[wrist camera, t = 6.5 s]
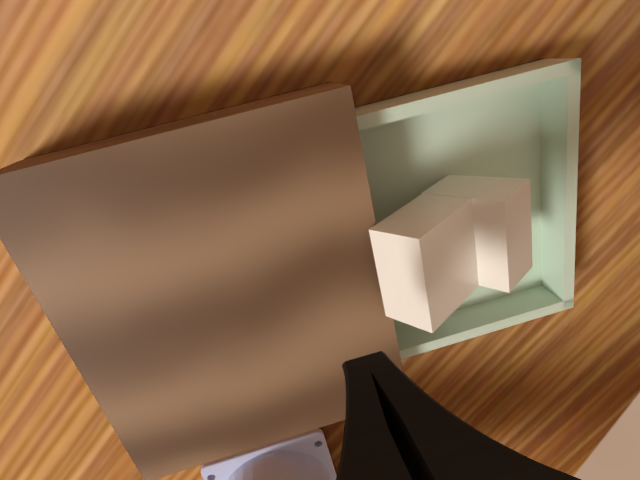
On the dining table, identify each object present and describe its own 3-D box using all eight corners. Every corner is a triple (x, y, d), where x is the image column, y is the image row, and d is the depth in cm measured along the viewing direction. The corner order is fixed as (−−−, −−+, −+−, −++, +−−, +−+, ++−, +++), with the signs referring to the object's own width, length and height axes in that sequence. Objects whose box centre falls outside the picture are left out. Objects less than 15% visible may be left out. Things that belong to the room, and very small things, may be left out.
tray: (544, 285, 26) (573, 307, 24) (384, 333, 25) (398, 360, 23) (543, 58, 20) (581, 57, 18) (340, 111, 20) (352, 117, 17)
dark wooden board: (384, 352, 26) (408, 399, 22) (159, 421, 25) (145, 481, 21) (330, 82, 19) (350, 85, 16) (22, 160, 18) (-33, 182, 15)
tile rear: (432, 273, 22) (457, 251, 23) (509, 292, 19) (532, 266, 20) (420, 193, 20) (448, 174, 21) (504, 200, 17) (530, 178, 18)
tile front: (433, 274, 22) (478, 285, 20) (385, 316, 19) (432, 333, 18) (422, 193, 20) (471, 198, 18) (368, 229, 18) (419, 239, 16)
